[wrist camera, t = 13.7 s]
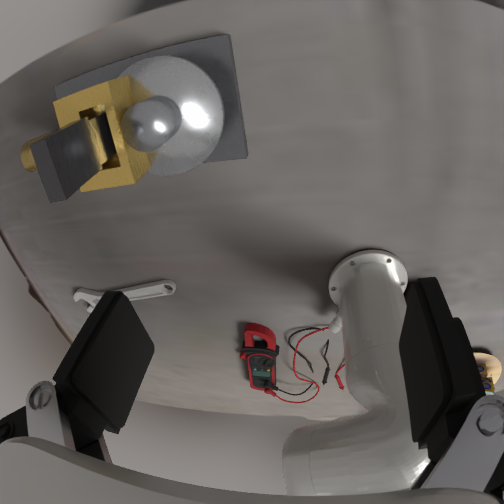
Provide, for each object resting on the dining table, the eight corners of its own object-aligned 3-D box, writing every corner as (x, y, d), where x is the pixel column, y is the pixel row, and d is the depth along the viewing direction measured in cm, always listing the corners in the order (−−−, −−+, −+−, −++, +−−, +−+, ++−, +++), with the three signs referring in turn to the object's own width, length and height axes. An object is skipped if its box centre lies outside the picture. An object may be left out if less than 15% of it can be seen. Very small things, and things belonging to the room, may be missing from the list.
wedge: (119, 101, 28) (45, 139, 19) (130, 146, 31) (66, 199, 22) (104, 106, 28) (29, 145, 19) (115, 149, 32) (50, 202, 22)
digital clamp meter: (243, 401, 68) (233, 337, 53) (246, 385, 72) (237, 317, 57) (344, 406, 65) (369, 342, 50) (343, 389, 69) (367, 323, 54)
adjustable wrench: (173, 275, 53) (169, 283, 51) (187, 302, 56) (184, 309, 55) (73, 287, 59) (69, 293, 57) (89, 309, 62) (85, 315, 61)
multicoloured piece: (230, 34, 29) (202, 31, 20) (248, 154, 38) (231, 195, 29) (60, 84, 33) (4, 106, 25) (87, 177, 42) (43, 216, 33)
